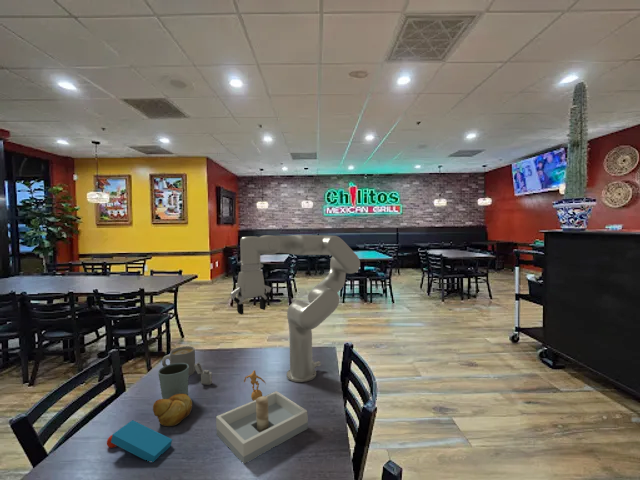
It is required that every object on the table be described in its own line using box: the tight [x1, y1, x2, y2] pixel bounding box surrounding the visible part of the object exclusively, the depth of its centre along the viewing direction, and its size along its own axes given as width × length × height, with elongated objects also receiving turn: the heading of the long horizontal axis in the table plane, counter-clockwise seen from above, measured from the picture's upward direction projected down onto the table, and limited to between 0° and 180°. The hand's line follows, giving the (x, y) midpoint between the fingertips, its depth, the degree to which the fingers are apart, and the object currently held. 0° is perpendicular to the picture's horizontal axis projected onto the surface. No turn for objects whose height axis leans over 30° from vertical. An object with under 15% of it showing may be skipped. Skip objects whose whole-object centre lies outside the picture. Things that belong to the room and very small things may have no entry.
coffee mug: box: [161, 345, 196, 376], centre depth 139 cm, size 13×10×10 cm
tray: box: [215, 390, 309, 464], centre depth 97 cm, size 22×17×6 cm
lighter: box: [194, 362, 213, 386], centre depth 129 cm, size 7×2×8 cm, turn 76°
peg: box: [256, 395, 270, 433], centre depth 97 cm, size 4×4×10 cm
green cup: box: [157, 363, 189, 399], centre depth 116 cm, size 10×10×12 cm
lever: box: [106, 419, 173, 463], centre depth 90 cm, size 7×7×18 cm
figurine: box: [243, 370, 267, 401], centre depth 113 cm, size 8×6×12 cm
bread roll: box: [152, 394, 193, 427], centre depth 105 cm, size 13×10×8 cm
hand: (252, 311), depth 123 cm, fingers open, 9 cm apart
